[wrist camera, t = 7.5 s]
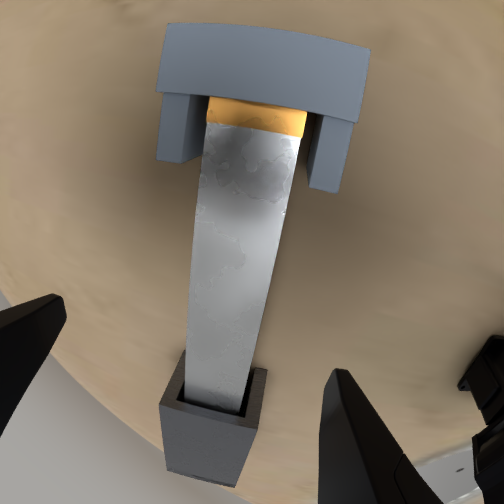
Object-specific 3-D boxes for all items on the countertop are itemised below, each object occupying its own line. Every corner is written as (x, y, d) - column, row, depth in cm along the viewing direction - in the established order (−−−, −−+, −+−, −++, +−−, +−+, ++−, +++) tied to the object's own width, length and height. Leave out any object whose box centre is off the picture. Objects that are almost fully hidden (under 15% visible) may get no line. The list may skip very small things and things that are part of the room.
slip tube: (305, 112, 16) (307, 110, 12) (244, 390, 25) (234, 431, 21) (232, 100, 16) (209, 95, 12) (198, 379, 25) (183, 418, 21)
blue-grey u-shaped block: (346, 72, 14) (370, 49, 9) (326, 171, 17) (340, 199, 11) (210, 50, 15) (167, 23, 9) (195, 146, 17) (147, 162, 12)
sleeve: (267, 370, 24) (257, 429, 19) (244, 443, 30) (234, 487, 24) (184, 350, 24) (158, 404, 19) (183, 427, 30) (167, 470, 25)
